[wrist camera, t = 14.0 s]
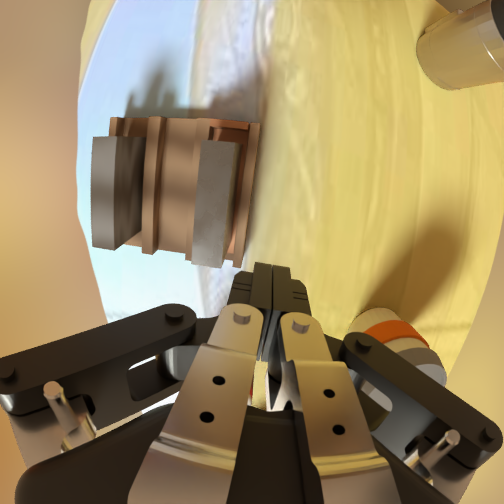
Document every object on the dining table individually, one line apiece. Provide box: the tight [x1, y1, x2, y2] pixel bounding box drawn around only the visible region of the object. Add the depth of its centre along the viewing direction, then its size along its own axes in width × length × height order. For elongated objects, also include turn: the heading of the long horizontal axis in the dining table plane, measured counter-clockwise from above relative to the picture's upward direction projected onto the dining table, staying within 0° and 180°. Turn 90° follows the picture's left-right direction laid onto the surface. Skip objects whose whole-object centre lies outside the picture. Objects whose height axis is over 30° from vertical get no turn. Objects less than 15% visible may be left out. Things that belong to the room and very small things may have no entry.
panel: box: [191, 140, 243, 268], centre depth 29 cm, size 12×3×8 cm, turn 173°
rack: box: [91, 116, 261, 268], centre depth 30 cm, size 17×18×10 cm
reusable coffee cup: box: [347, 307, 447, 412], centre depth 34 cm, size 13×13×15 cm
